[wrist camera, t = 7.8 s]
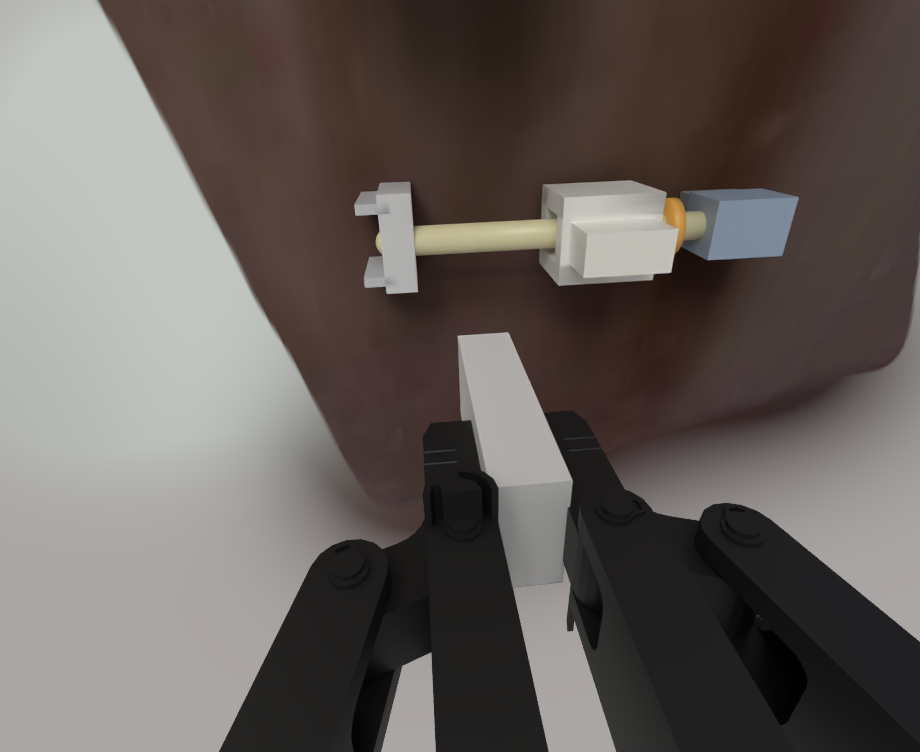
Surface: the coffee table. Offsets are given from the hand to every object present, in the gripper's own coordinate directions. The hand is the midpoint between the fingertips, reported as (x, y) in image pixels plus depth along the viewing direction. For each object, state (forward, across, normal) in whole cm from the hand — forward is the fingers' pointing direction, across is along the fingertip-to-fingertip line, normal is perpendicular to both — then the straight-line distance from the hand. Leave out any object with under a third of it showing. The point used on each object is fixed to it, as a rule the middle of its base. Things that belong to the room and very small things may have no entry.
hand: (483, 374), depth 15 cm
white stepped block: (+21, +10, 0) cm, 23 cm away
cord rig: (+22, +8, 0) cm, 24 cm away
